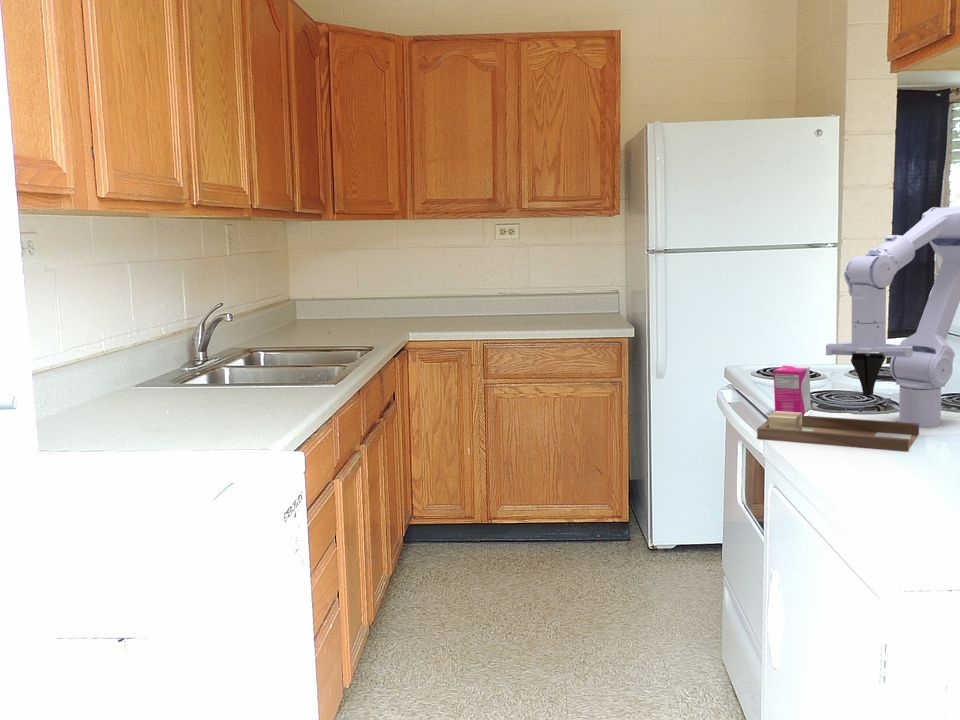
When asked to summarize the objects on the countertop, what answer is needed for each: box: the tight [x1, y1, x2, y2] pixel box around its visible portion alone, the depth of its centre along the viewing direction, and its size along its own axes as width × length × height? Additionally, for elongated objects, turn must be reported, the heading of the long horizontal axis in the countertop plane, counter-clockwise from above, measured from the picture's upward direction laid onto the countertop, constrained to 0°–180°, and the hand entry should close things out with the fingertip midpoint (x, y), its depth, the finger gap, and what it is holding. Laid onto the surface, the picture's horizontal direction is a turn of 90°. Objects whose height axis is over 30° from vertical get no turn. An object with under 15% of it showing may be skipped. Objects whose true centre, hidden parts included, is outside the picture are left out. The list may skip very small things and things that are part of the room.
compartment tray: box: [756, 415, 920, 452], centre depth 167 cm, size 13×26×4 cm, turn 56°
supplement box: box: [773, 365, 812, 415], centre depth 185 cm, size 6×6×12 cm
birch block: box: [768, 410, 802, 431], centre depth 172 cm, size 5×5×4 cm
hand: (868, 394), depth 164 cm, fingers closed
